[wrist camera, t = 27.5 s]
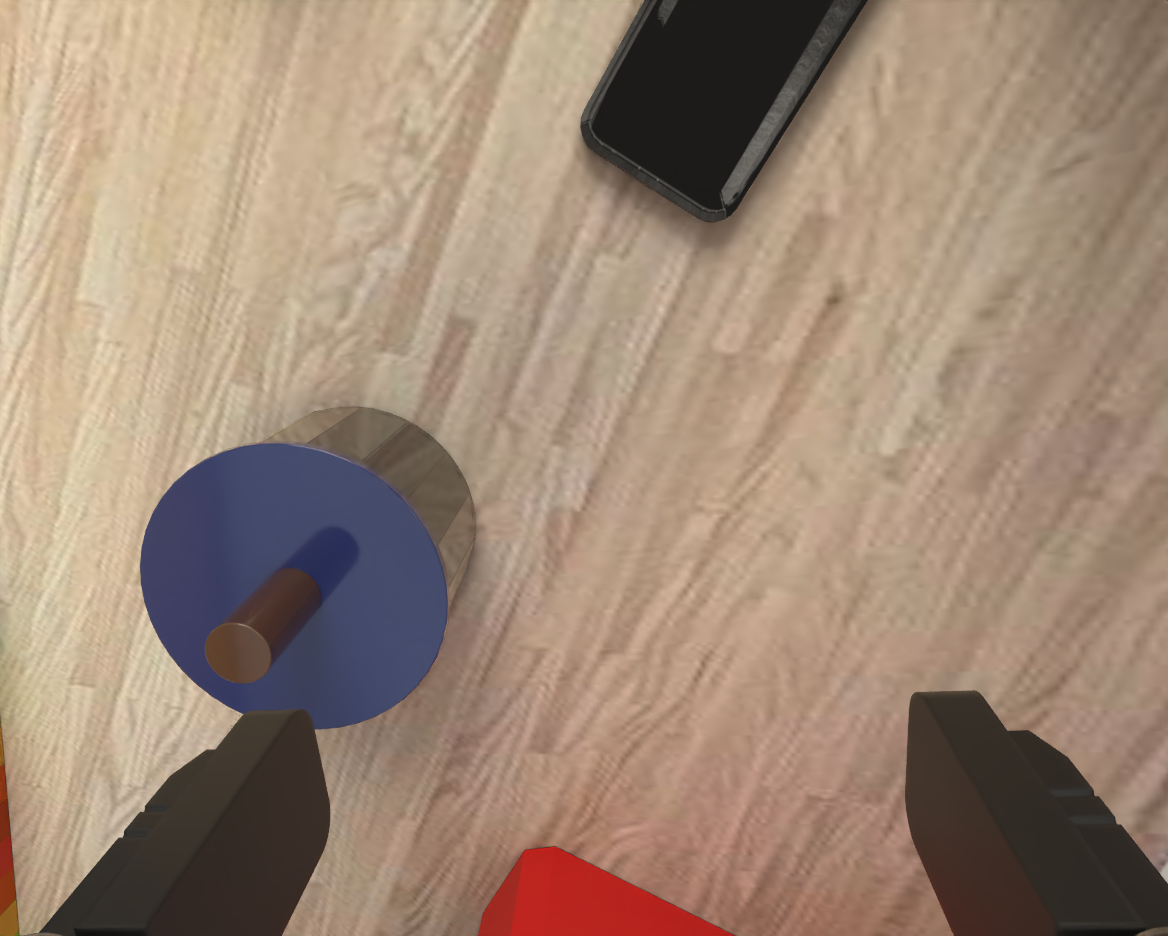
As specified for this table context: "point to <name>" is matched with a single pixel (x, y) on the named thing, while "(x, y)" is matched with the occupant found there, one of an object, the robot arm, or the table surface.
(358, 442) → the canister
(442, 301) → the table surface
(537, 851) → the book
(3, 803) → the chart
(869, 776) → the table surface
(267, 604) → the lid
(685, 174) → the phone
